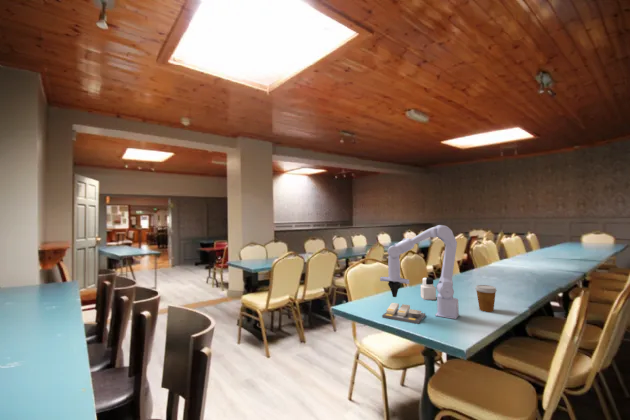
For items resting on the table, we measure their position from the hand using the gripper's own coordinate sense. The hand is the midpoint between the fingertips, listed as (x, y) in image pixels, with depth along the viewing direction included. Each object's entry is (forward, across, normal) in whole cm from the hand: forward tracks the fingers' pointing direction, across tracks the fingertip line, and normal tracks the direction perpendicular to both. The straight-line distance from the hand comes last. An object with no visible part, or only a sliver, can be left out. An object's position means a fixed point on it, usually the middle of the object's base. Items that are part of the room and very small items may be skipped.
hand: (394, 296), depth 156 cm
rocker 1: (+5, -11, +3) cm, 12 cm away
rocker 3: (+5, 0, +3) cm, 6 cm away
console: (+8, -6, +3) cm, 10 cm away
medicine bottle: (+8, -7, -38) cm, 39 cm away
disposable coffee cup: (+8, -38, -28) cm, 48 cm away
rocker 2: (+5, -6, +3) cm, 8 cm away
